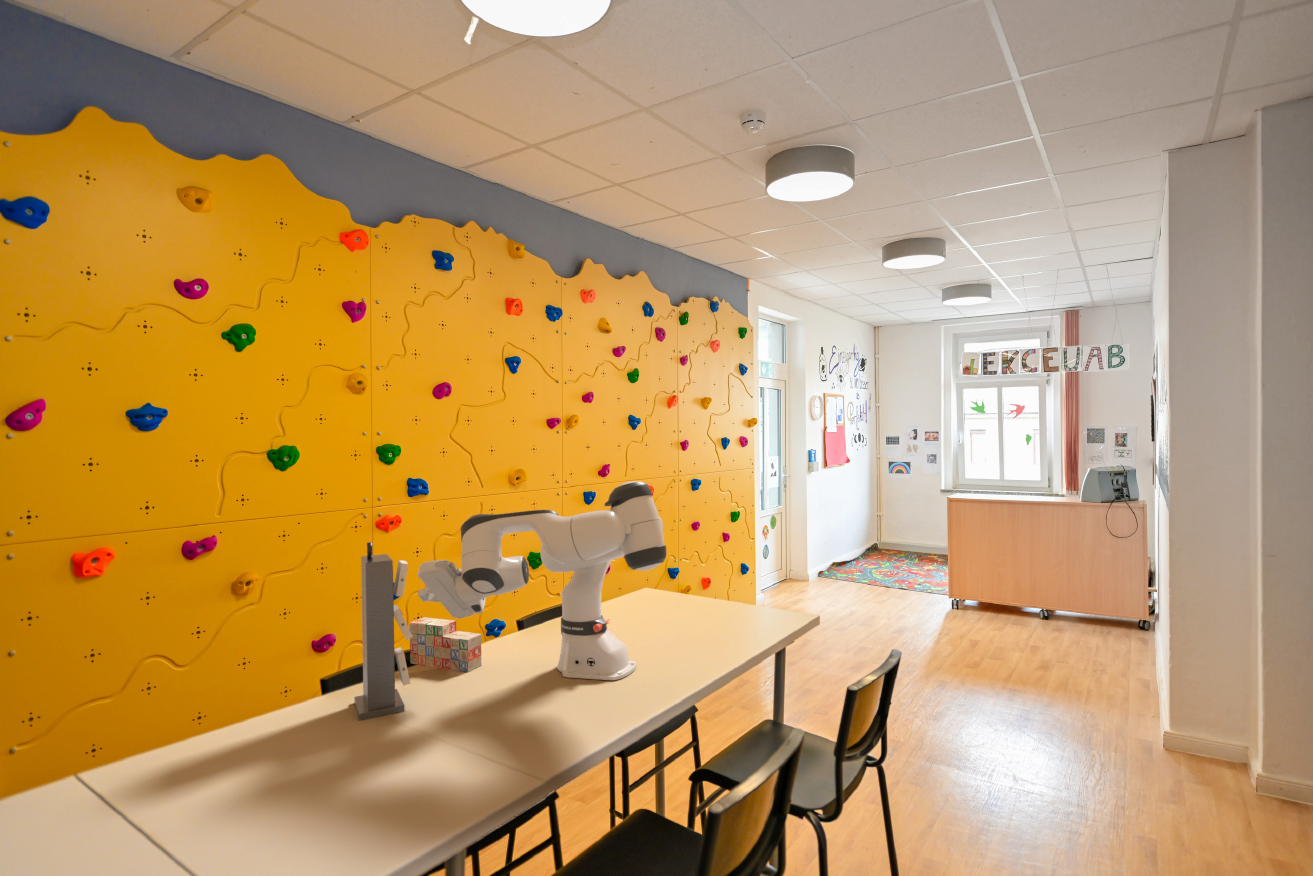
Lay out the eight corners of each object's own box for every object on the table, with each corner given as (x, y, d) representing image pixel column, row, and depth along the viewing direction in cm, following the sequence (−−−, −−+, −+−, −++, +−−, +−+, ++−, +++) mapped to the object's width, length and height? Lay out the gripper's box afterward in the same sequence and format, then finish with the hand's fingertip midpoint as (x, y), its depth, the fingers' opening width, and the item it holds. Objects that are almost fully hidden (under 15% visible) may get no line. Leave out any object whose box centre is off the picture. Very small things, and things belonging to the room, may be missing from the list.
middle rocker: (410, 631, 170) (396, 604, 168) (413, 636, 165) (399, 608, 164) (403, 635, 169) (389, 607, 167) (406, 640, 164) (392, 612, 163)
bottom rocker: (407, 676, 169) (401, 646, 169) (411, 683, 165) (404, 652, 164) (400, 679, 169) (394, 649, 168) (403, 686, 164) (397, 655, 163)
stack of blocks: (482, 666, 192) (481, 623, 192) (467, 673, 187) (467, 629, 187) (424, 657, 201) (424, 616, 201) (409, 663, 195) (408, 621, 195)
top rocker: (400, 592, 169) (405, 560, 169) (403, 596, 164) (409, 563, 165) (393, 592, 168) (398, 560, 168) (396, 596, 163) (401, 563, 164)
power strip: (396, 694, 171) (394, 537, 171) (404, 711, 161) (401, 543, 161) (354, 702, 166) (351, 540, 166) (359, 720, 156) (356, 547, 156)
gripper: (447, 569, 162) (396, 582, 164) (485, 616, 175) (437, 628, 177) (452, 549, 167) (402, 562, 169) (488, 597, 180) (442, 608, 182)
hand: (420, 596), depth 173 cm, fingers closed
